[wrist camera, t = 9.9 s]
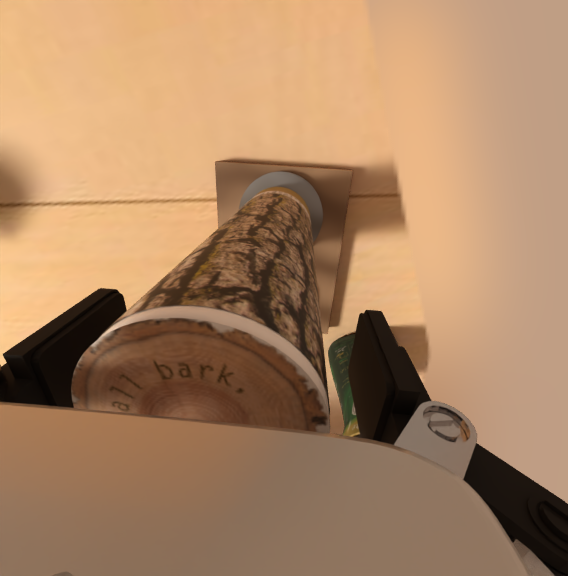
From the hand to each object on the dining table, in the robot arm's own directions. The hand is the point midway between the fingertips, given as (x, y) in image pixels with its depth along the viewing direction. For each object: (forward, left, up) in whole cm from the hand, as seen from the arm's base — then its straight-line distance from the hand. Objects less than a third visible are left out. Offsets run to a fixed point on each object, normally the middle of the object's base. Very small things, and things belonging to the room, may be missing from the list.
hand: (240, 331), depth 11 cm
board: (-5, 0, -23) cm, 24 cm away
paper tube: (0, 0, -21) cm, 21 cm away
